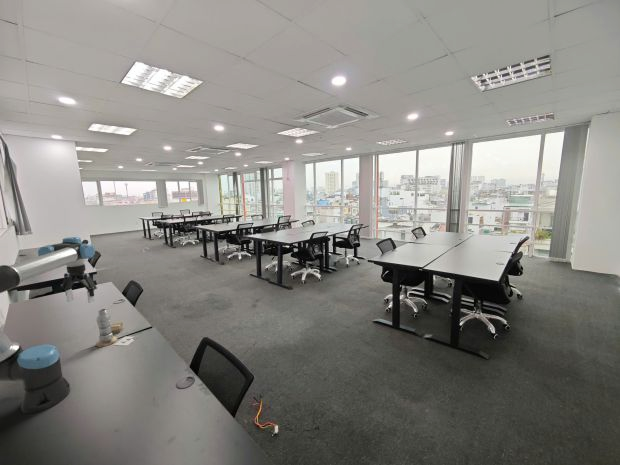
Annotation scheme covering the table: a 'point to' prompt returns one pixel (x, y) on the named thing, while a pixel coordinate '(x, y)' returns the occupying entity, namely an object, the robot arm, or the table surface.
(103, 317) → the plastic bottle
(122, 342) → the card
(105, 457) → the table surface
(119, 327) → the oak block
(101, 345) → the cork coaster
